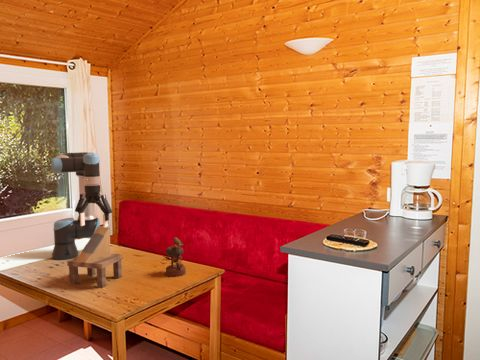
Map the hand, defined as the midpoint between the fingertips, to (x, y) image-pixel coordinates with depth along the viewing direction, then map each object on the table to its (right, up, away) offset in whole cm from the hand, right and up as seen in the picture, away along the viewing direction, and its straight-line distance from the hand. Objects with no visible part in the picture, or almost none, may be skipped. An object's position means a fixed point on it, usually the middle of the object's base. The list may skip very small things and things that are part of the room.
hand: (94, 226), depth 212 cm
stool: (0, -28, +2) cm, 28 cm away
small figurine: (+39, -27, +13) cm, 49 cm away
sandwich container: (-1, -16, 0) cm, 16 cm away
